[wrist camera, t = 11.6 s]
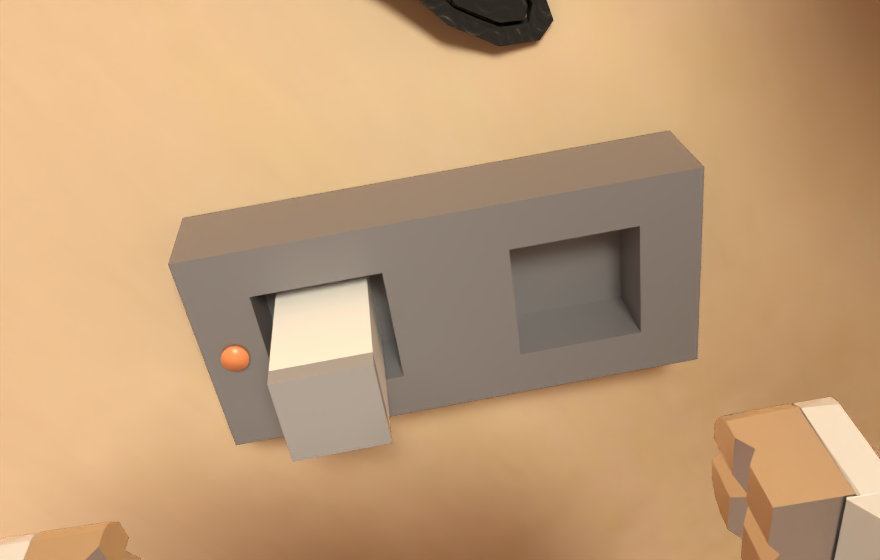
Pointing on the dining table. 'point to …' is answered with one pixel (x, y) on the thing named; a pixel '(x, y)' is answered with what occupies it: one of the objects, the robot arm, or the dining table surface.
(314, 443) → the plug
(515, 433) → the dining table surface
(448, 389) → the power strip
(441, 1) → the hairbrush
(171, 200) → the dining table surface
